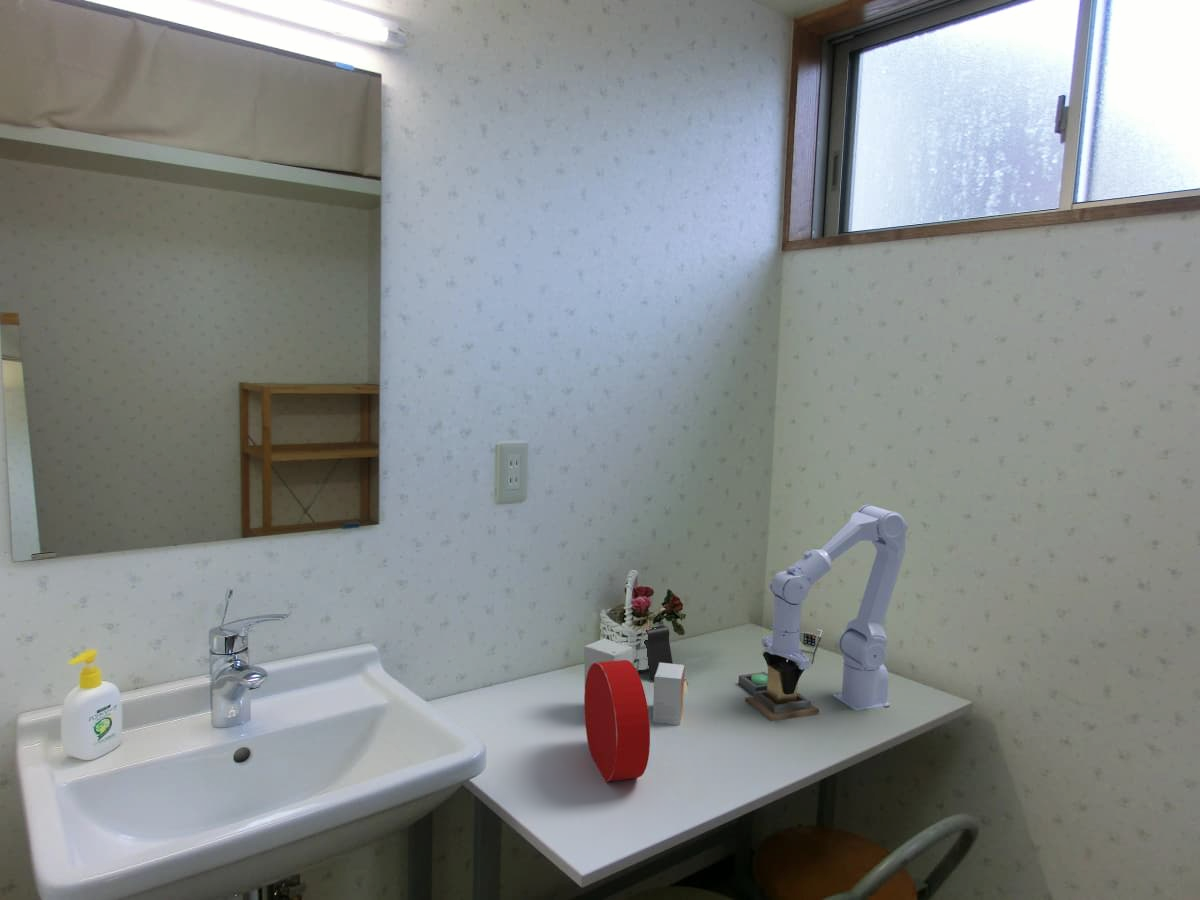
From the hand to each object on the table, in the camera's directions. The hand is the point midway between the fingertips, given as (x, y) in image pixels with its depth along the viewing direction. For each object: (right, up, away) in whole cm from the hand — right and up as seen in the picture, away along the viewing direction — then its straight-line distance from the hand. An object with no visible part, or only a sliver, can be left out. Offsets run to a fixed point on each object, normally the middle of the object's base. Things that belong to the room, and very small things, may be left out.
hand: (782, 689), depth 166 cm
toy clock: (-37, -6, -28) cm, 47 cm away
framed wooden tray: (0, -4, 0) cm, 4 cm away
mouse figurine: (-23, -3, +8) cm, 24 cm away
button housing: (-3, -3, +10) cm, 11 cm away
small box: (-25, -4, -6) cm, 27 cm away
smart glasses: (+11, -2, +34) cm, 36 cm away
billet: (0, -2, 0) cm, 2 cm away
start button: (-3, -2, +10) cm, 11 cm away
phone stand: (-27, -2, +15) cm, 31 cm away
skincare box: (-38, -4, -7) cm, 39 cm away
